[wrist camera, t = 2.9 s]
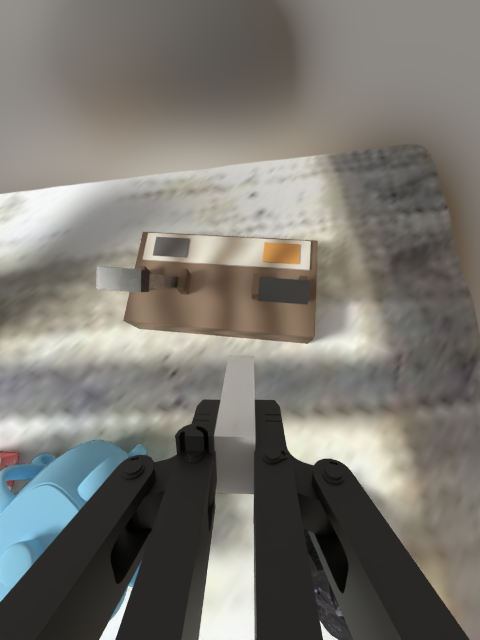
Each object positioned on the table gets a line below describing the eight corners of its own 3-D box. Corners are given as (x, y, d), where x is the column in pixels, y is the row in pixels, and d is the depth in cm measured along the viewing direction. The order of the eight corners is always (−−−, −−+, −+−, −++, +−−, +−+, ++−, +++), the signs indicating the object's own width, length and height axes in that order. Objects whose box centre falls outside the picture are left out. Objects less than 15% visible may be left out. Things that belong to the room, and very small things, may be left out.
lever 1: (148, 288, 37) (96, 288, 26) (149, 272, 37) (96, 266, 26) (179, 290, 37) (140, 292, 26) (180, 274, 37) (141, 269, 25)
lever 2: (261, 296, 36) (257, 300, 25) (262, 280, 36) (259, 277, 24) (295, 298, 35) (307, 304, 24) (296, 282, 35) (310, 280, 24)
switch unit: (139, 328, 41) (115, 316, 35) (155, 248, 45) (137, 223, 38) (307, 343, 39) (317, 333, 32) (311, 257, 42) (320, 232, 36)
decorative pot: (60, 433, 38) (-45, 457, 25) (167, 437, 37) (116, 464, 24) (36, 568, 34) (-105, 680, 21) (156, 578, 33) (86, 704, 20)
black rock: (263, 464, 36) (255, 499, 26) (368, 473, 34) (402, 515, 24) (262, 577, 34) (253, 661, 24) (375, 595, 31) (416, 696, 22)
